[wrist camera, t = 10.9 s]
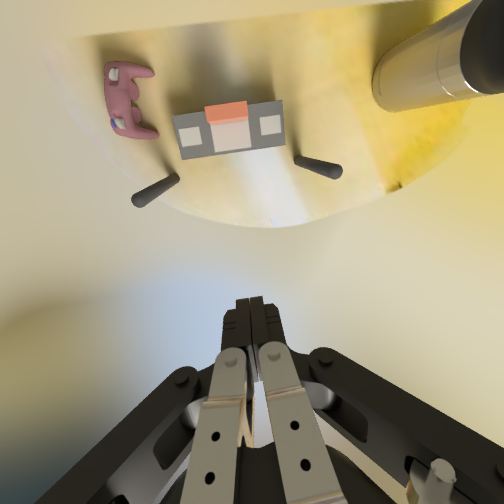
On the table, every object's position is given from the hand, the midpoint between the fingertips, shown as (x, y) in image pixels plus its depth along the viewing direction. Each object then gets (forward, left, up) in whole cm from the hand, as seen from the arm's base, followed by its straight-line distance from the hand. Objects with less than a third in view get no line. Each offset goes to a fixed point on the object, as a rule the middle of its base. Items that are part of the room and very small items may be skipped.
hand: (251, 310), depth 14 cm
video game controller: (+14, -16, -35) cm, 41 cm away
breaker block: (0, -10, -35) cm, 36 cm away
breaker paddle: (0, -12, -29) cm, 32 cm away
